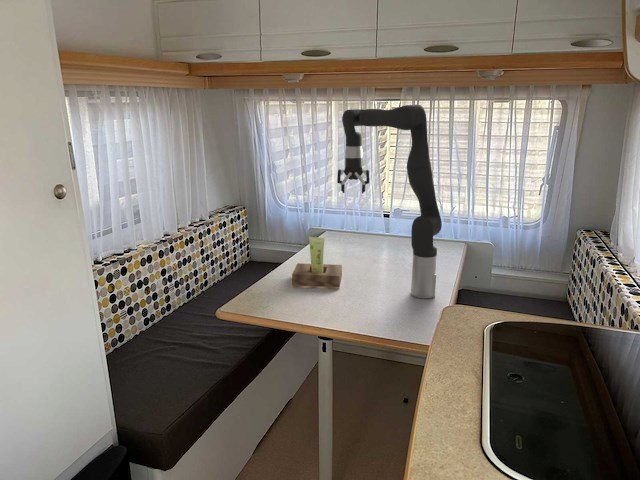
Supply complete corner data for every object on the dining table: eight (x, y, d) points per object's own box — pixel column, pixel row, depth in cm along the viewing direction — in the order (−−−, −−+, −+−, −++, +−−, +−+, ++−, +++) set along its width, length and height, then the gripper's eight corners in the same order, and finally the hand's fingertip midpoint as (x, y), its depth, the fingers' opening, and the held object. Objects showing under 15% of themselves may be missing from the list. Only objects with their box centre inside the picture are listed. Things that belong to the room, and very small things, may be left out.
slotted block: (341, 277, 213) (341, 264, 212) (339, 289, 200) (339, 275, 198) (297, 275, 216) (297, 263, 214) (292, 287, 202) (292, 274, 201)
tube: (312, 283, 204) (311, 239, 199) (309, 279, 209) (308, 236, 204) (324, 281, 206) (324, 238, 200) (321, 277, 211) (321, 235, 205)
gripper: (336, 157, 207) (336, 194, 212) (369, 157, 205) (369, 194, 210) (338, 155, 214) (338, 191, 219) (370, 155, 213) (369, 191, 217)
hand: (353, 192), depth 214 cm, fingers open, 8 cm apart
